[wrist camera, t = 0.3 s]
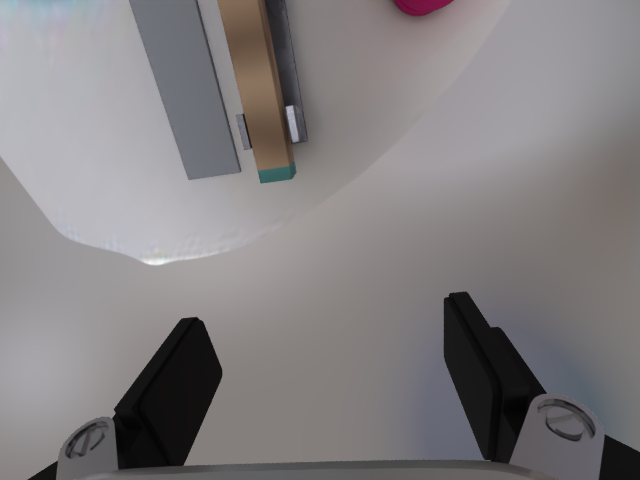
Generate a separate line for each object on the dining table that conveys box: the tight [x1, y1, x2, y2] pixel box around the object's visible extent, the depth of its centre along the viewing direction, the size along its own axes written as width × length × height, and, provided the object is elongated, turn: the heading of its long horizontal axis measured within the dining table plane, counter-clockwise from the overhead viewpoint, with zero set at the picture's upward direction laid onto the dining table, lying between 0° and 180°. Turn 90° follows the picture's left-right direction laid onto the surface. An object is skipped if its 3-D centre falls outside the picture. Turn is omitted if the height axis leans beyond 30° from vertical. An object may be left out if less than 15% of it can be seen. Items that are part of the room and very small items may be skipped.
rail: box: [217, 0, 296, 183], centre depth 25 cm, size 23×3×3 cm, turn 9°
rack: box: [236, 0, 308, 150], centre depth 29 cm, size 19×5×10 cm, turn 9°
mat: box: [129, 0, 241, 180], centre depth 35 cm, size 24×7×1 cm, turn 9°
